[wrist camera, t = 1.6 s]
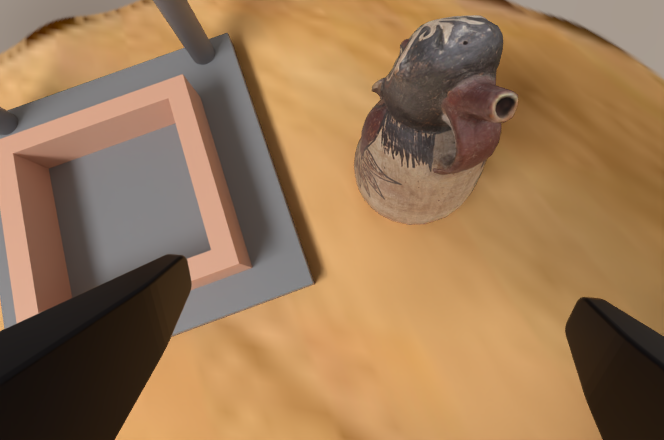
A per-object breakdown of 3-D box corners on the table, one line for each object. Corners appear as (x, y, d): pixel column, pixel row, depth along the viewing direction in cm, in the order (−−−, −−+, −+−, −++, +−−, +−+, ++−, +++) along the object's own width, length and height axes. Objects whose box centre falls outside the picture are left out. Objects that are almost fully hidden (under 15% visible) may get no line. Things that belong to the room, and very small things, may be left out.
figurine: (446, 108, 24) (535, -80, 12) (486, 209, 22) (634, 106, 10) (341, 138, 24) (328, -20, 12) (373, 241, 22) (395, 174, 10)
